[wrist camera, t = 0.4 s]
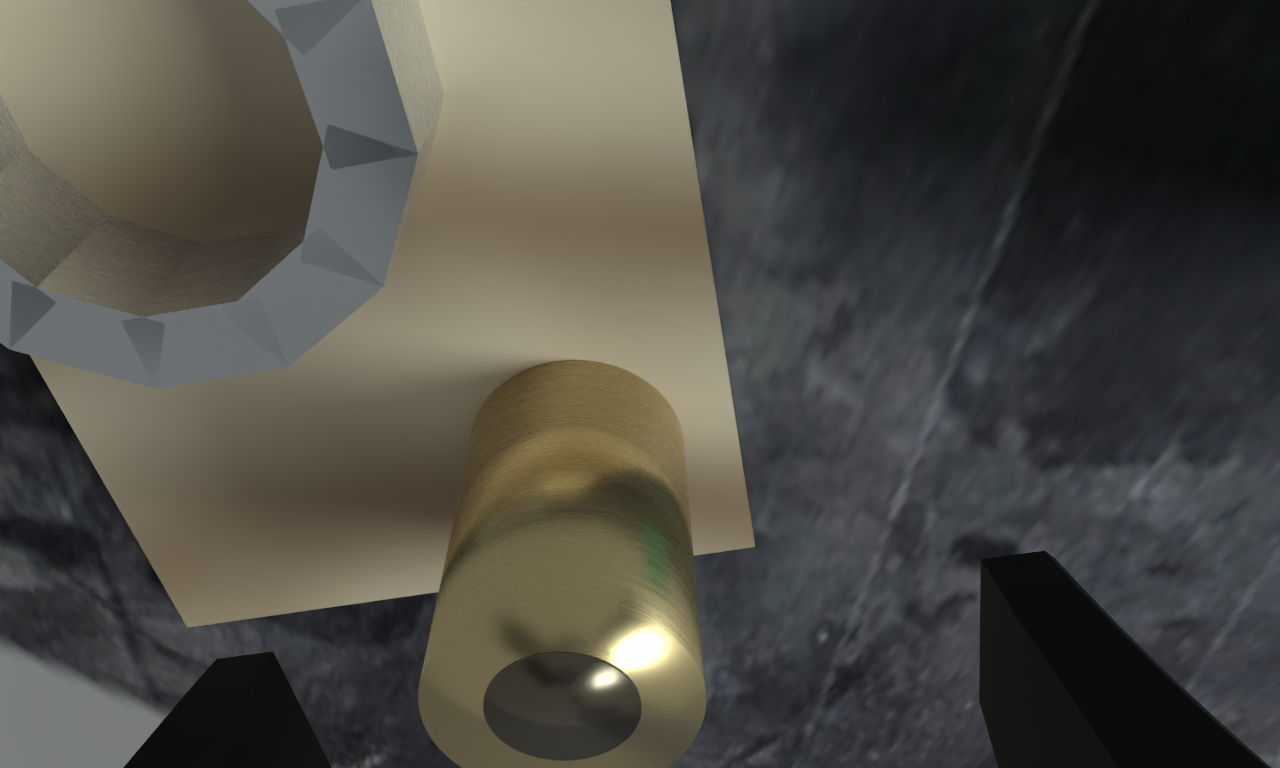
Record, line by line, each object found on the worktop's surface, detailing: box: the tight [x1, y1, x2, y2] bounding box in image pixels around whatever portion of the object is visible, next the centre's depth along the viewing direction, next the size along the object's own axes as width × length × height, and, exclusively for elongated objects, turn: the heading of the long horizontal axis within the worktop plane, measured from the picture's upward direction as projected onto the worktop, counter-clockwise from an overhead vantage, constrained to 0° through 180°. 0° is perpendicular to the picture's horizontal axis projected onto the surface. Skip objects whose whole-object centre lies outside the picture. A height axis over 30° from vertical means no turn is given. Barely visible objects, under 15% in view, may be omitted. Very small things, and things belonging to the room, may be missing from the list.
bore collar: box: [0, 0, 445, 389], centre depth 15 cm, size 8×8×2 cm
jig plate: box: [0, 0, 755, 627], centre depth 18 cm, size 16×12×1 cm
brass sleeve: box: [418, 360, 706, 768], centre depth 17 cm, size 4×4×6 cm
